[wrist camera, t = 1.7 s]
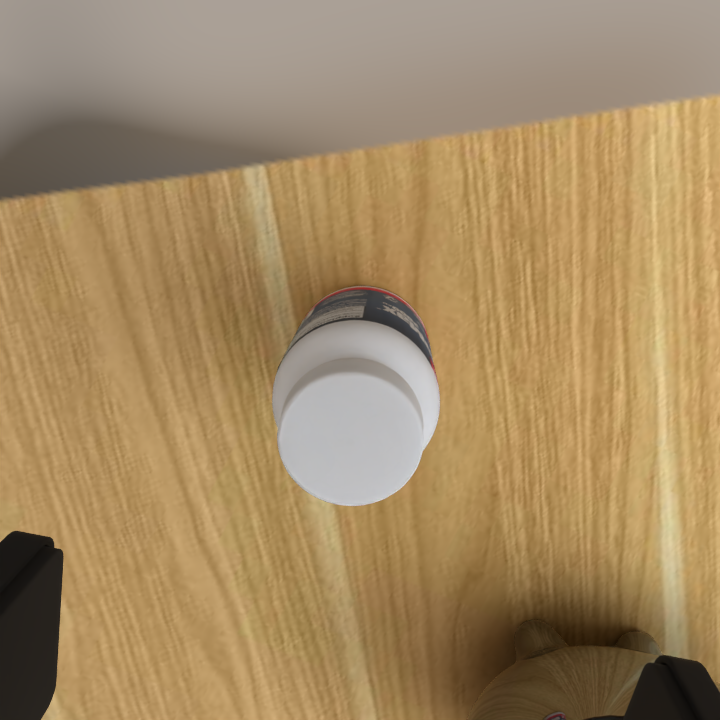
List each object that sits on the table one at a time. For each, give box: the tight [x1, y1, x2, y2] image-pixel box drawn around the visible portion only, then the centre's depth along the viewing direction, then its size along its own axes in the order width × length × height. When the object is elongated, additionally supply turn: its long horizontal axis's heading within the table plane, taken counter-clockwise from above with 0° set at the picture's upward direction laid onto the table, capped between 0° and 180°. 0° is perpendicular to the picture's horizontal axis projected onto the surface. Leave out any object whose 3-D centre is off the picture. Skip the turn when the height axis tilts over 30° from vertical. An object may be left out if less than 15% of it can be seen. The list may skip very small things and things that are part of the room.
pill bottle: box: [272, 286, 440, 506], centre depth 22 cm, size 5×5×9 cm
